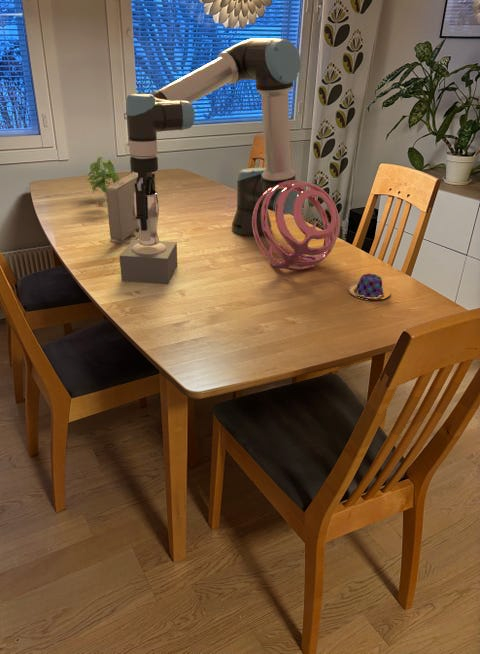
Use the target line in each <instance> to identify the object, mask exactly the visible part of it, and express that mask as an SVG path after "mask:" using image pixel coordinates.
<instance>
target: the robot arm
mask: <svg viewBox="0 0 480 654" xmlns="http://www.w3.org/2000/svg"><path fill="white" fill-rule="evenodd" d="M301 63H302V62H301V55H300V52H299V49H298V47H297V46H295V44H294V42H292V41H290V40H289V39H283V38H279V37H277V38H276V37H274V38H273V37H271V38H269V37H268V38H264V37H263V38H262V37H261V38H259V37H255V38H254V37H253V38H249V39H246V40H242V41H241V42H239V43H236V44H234V45H232V46H231V47H229V48H227V49H225V50H223V51H221V52H220V53H219V54H218V55H217V58H216V59H214V60H212V61H210V62H208V63H206V64H205V65H203V66H201V67H198V68H197V69H195V70H194V71H192V72H189V73H188V74H186V75H184V76H183V77H180V78H178V79H177V80H174V81H173V82H171V83H168V85H165V86H164V87H163V86H162V88H159V89H158V90H156V91H154V92H152V93H149V94H148V93H130V94H128V95H127V96H126V97H125V99H126V101H125V109H126V110H125V114H126V123H127V135H128V142H127V143H126V144H127V145H126V146H128V148H129V150H130V151H129V150H128V151H129V154H130V157H129V164H130V171H131V170H132V171H133V172H137V173H138V178H137V183H135V191H136V212H137V217H136V219H139V223H140V237H141V241H150V223H149V218H148V196H146V195H153V193H152V191H153V190H155V191H156V181H155V180H156V173H155V172H157V171H158V170H159V159H158V156H157V155H158V154H159V153H158V141H157V137H158V136H157V135H158V134H157V133H161V132H167V131H170V132H171V131H183V130H189V129H191V128H192V127H193V126H194V124H195V119H196V116H195V114H196V111H195V109H194V106H193V104H192V103H194V102H196V101H198V100H199V99H201V98H203V97H205V96H207V95H209V94H210V93H213V92H214V91H215V90H217V89H219V88H221V87H223V86H225V85H227V84H230V85H233V84H235V83H237V82H240V81H244V80H254V81H255V90H256V91H257V92H258V93H259V95H260V96H261V98H260V99H261V112H262V131H263V143H264V144H263V145H264V147H263V148H264V149H263V151H264V164H265V165H264V167H250V168H249V167H248V168H243V169H241V170H240V171H239V172H238V173H237V180H236V181H237V186H236V187H237V188H236V190H237V192H236V194H237V195H236V212H235V215H234V218H233V221H232V224H231V230H232V232H233V233H235V234H237V235H240V236H247V237H254V233H253V228H252V216H253V211H254V208H255V205H256V203H257V201H258V200H259V198H260V197H261V196H262V195H263V193H265V192H266V191H267V190H268V189H270V188H272V187H274V186H276V185H278V184H279V183H282V182H285V181H289V180H296V171H295V170H294V169H293V168H292V165H291V135H290V134H291V133H290V132H291V131H290V129H291V127H290V103H289V102H290V100H289V99H290V98H289V93H290V91H291V90H292V89H293V88H294V81H296V79H297V78H298V77H299V73H300V71H301V66H302V65H301ZM131 155H132V156H131ZM290 184H292V183H290ZM300 187H301V188H303V186H300ZM282 190H283V189H277V190H276V191H275V192H274V194H273V195H272V197H271V199H270V201H269V205H268V210H267V219H268V225H269V229H270V232H271V233H272V222H271V218H270V215H269V214H270V213H269V211H272V212H274V213H275V206H276V202H277V199H278V197H279V195H280V193H281V192H282ZM299 194H300V193H298V192H296V191H293V190H292V191H291V192H290V193H289V194H288V196H287V197H286V199H285V202H284V208H283V214H284V215H289V214H291V213H292V214H293V205H294V201H295V199H296V197H297V196H298V195H299ZM265 197H266V196H265ZM265 197H264V198H263V199H262V201H261V202H260V204H259V207H258V210H257V217H256V223H257V230H258V234H259V237H261V236H264V233H263V230H262V225H261V208H262V204H263V201H264V199H265Z"/></svg>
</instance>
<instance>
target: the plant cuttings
mask: <svg viewBox="0 0 480 654" xmlns="http://www.w3.org/2000/svg"><path fill="white" fill-rule="evenodd" d="M89 168H90V171H89V172H88V174H87V175H88V176H89V178H87V181H89V183H90V185H91V189H92V193H93V194H94V193H95V192H97V191H99V189H100V190H101V191H102V192H103V193H105V194H104V195H103V197H99V198H98V201H99V204H100V205H102V204H104V203H105V202H104V201H105V199H107V197H106V189H107V187H108V186H110V185H112V184H114V183H115V182H117V181H119V180H121V179H120V176H119V175H118V174H117V173H116V170H115V166H114V164H113V163H112V162H111V160H110V159H106V160H103V157H101V156H98V157H97V160H96V161H94V162H91V164H90V165H89ZM106 170H107V171H106ZM110 179H111V180H112V182H113V183H111V180H110ZM108 181H109V182H108Z"/></svg>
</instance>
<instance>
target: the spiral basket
mask: <svg viewBox="0 0 480 654" xmlns="http://www.w3.org/2000/svg"><path fill="white" fill-rule="evenodd" d="M290 183H292V184H290ZM300 186H302V188H301V187H300ZM303 187H307V188H308V189H305V188H303ZM277 189H283V190H282V192H281V193H280V195H279V197H278V199H277V202H276V206H275V212H274V218H275V223H276V226H277V229H278V231H279V233H280V235H281V237H282V239H283V240H284V241H285V242H286V243H287V245H289V247H291V248H292V249H293V250H291V249H289V248H287V247H285V246H284V245H283V244H278V243H277V241H276V240H275V238H274V236H273V234H272V231H271V232H270V229H269V225H268V219H267V210H268V205H269V201H270V199H271V197H272V195H273V194H274V192H275V191H276V190H277ZM292 190H293V191H296V192H298V193H300V194H299V195H298V196H297V197H296V199H295V201H294V205H293V212H292V215H293V220H294V221H295V224H296V227H298V229H299V231H300V232H302V233H303V235H305V237H304V238H303V240H302V241H298V240H297V239H296V238H295V237H294V236H293V234H292V233H291V231H290V230H289V228H288V226H287V223H286V220H285V214H283V208H284V202H285V199H286V197H287V196H288V194H289V193H290V192H291V191H292ZM265 196H266V197H265ZM264 197H265V199H264V201H263V204H262V208H261V225H262V230H263V233H264V235H263V236H264V238H265V241H266V242H267V243H268V245H269V250H267V249H266V247H265V246H264V243H263V242H262V240H261V238H260V237H261V236H259V234H258V230H257V223H256V217H257V210H258V207H259V204H260V202H261V201H262V199H263V198H264ZM316 197H317V198H320V199H321V200H322V201H323V202H324V203H325V205H326V207H327V209H328V211H329V213H330V216H331V217H330V221H329V219H328V216H327V213H326V211H325V209H324V207H323V206H322V204H321V203H320V201H319V200H318V199H317V198H316ZM306 200H308V202H309V201H310V203H312V205H313V206H314V208H315V209H316V211H317V212H318V214H319V217H320V219H321V223H322V227H323V229H322V230H318V229H316V228H317V227H316V226H317V220H315V221H314V222H313V224H312V225H311V226H310V225H308V224H307V222H306V220H305V218H304V216H303V204H304V203H305V201H306ZM268 211H269V210H268ZM340 225H341V224H340V215H339V212H338V209H337V206H336V203H335V202H334V200H333V198H332V197H331V196H330V195H329V194H328V193H327V191H325V190H324V189H323V188H322V187H320V186H319V185H317V184H315V183H311V182H308V181H303V180H298V179H295V180H289V181H285V182H282V183H279V184H278V185H276V186H274V187H272V188H270V189H268V190H267V191H266V192H265V193H263V195H262V196H261V197H260V198H259V200H258V201H257V203H256V205H255V208H254V211H253V216H252V228H253V233H254V236H253V237H254V240H255V242H256V244H257V246H258V248H259V249H260V251H261V253H262V254H263V255H264V257H266V258H267V259H268V261H269V263H270V264H271V266H272V267H275V268H277V269H283V270H287V271H292V272H293V271H294V272H295V271H296V272H297V271H298V272H300V271H305V270H308V269H311V268H312V267H314V266H316V265H317V264H319V263H320V262H322V261H324V259H326V258H328V256H329V255H330V253H332V251H333V249H334V247H335V244H336V241H337V240H338V236H339V233H340V227H341V226H340ZM311 240H324V241H323V244H322V246H320V247H311V246H309V243H310V241H311ZM273 252H274V253H275V254H276V255H277V256H278V257H279V258H280V259H282V261H279V260H277V259H276V258H274V256H273ZM293 266H299V267H293Z"/></svg>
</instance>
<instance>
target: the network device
mask: <svg viewBox="0 0 480 654" xmlns="http://www.w3.org/2000/svg"><path fill="white" fill-rule="evenodd" d="M137 178H138V173H134V172H133V173H132V174H131V173H130V174H128V175H126V176H125V177H122V178H121V179H120V180H119V181H117V182H115V183H111V185H109V186H108V187H106V188H107V189H106V193H105V194H106V195H105V197H106V204H107V217H108V225H109V227H108V228H109V236H110V242H112V243H113V244H114V243H115V244H128V245H129V243H130V242H131V241H132V240H139V231H138V232H137V229H139V227H138V223H137V219H136V215H135V208H134V192H135V183H137ZM134 236H135V237H134ZM128 237H132V238H131V240H125V239H126V238H128Z"/></svg>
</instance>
